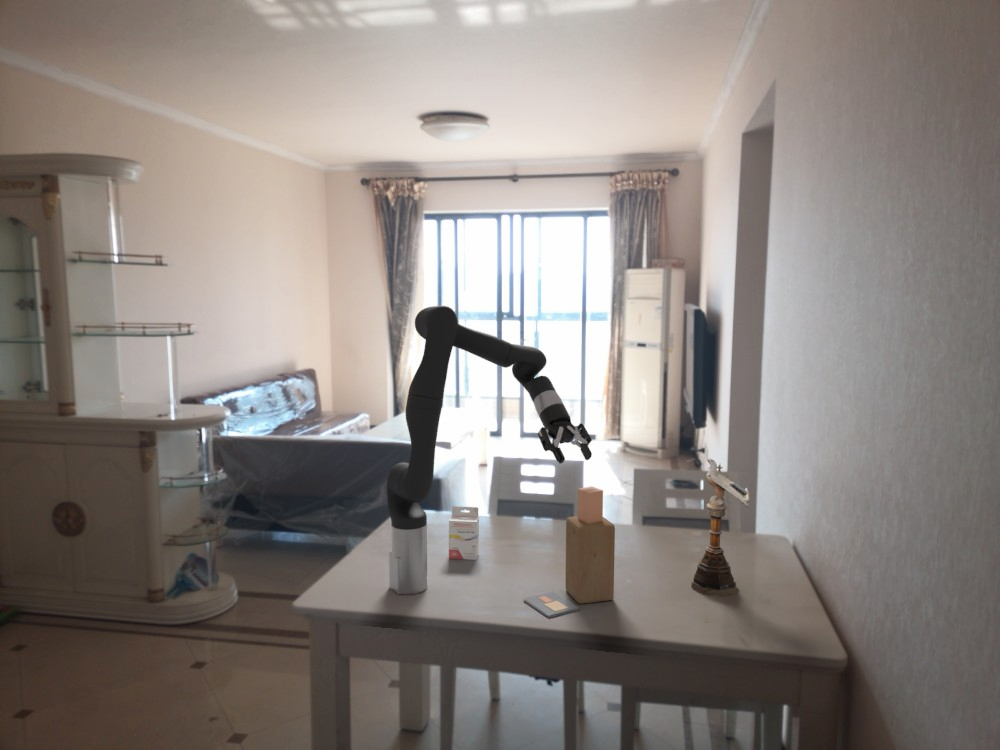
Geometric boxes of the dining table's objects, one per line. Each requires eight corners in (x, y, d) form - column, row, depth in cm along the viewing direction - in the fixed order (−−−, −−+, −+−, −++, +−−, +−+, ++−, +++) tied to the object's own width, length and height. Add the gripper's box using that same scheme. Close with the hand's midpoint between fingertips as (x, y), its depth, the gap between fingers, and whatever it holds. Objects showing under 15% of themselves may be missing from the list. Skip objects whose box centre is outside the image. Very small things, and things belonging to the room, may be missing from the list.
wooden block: (578, 605, 174) (579, 527, 172) (564, 589, 184) (564, 515, 182) (615, 601, 177) (616, 524, 175) (599, 585, 187) (600, 513, 184)
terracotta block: (588, 523, 175) (589, 492, 174) (577, 519, 179) (578, 488, 178) (602, 521, 178) (603, 490, 177) (591, 516, 181) (591, 486, 181)
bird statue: (756, 582, 189) (761, 455, 185) (756, 601, 177) (761, 466, 173) (693, 574, 195) (697, 450, 191) (688, 592, 182) (692, 460, 179)
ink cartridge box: (448, 559, 206) (448, 510, 204) (451, 553, 211) (450, 505, 209) (477, 560, 205) (477, 511, 204) (479, 554, 210) (479, 506, 208)
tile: (548, 617, 167) (548, 615, 167) (523, 601, 177) (523, 598, 177) (578, 609, 172) (578, 606, 172) (553, 593, 181) (553, 591, 181)
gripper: (535, 404, 185) (559, 454, 176) (578, 400, 192) (604, 449, 183) (524, 421, 190) (547, 471, 181) (566, 417, 197) (591, 464, 188)
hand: (576, 460), depth 182 cm, fingers open, 8 cm apart
